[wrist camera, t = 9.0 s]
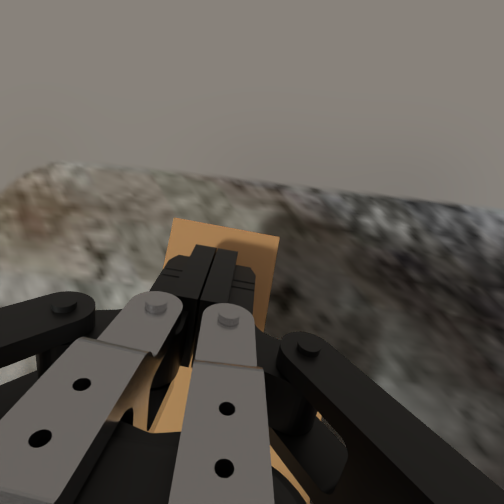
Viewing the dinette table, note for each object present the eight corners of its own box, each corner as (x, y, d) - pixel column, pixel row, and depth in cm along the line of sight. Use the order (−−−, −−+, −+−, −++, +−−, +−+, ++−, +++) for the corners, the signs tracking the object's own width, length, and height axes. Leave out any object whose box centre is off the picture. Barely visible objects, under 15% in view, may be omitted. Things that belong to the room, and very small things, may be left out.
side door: (273, 690, 12) (335, 253, 14) (277, 733, 11) (345, 249, 13) (12, 650, 12) (117, 213, 14) (-12, 689, 11) (106, 205, 13)
